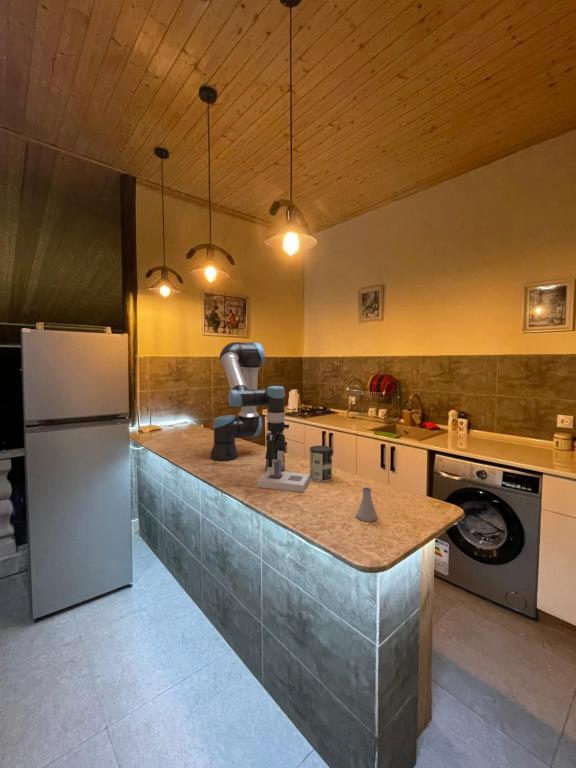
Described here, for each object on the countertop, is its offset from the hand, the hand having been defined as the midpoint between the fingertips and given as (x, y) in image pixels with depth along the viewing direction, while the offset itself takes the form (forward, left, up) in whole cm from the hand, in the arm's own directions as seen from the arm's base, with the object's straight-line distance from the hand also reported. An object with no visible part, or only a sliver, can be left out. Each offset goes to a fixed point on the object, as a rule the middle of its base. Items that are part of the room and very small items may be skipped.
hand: (275, 469), depth 145 cm
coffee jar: (-18, -6, -6) cm, 20 cm away
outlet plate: (0, +4, -6) cm, 7 cm away
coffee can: (-12, +18, -6) cm, 23 cm away
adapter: (0, 0, -6) cm, 6 cm away
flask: (+22, +40, -6) cm, 46 cm away
